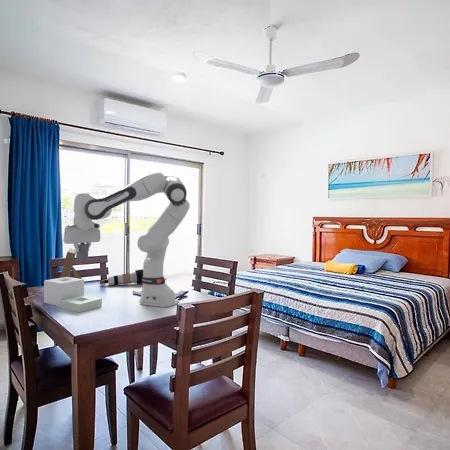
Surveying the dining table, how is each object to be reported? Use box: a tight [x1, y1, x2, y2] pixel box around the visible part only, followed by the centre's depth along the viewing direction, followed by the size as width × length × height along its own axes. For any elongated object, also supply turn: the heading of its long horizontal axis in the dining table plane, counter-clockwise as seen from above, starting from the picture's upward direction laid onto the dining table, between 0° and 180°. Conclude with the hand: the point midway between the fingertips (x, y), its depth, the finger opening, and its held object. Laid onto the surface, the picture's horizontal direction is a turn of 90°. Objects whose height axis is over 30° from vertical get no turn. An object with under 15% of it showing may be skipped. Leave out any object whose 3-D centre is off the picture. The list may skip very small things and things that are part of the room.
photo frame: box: [59, 247, 83, 279], centre depth 215 cm, size 15×22×25 cm
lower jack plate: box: [59, 294, 103, 313], centre depth 175 cm, size 14×14×4 cm
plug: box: [75, 243, 89, 261], centre depth 174 cm, size 4×4×10 cm
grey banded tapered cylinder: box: [99, 268, 143, 287], centre depth 233 cm, size 10×34×10 cm, turn 109°
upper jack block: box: [43, 276, 85, 307], centre depth 184 cm, size 14×14×12 cm
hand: (82, 251), depth 174 cm, fingers closed on plug, 4 cm apart
